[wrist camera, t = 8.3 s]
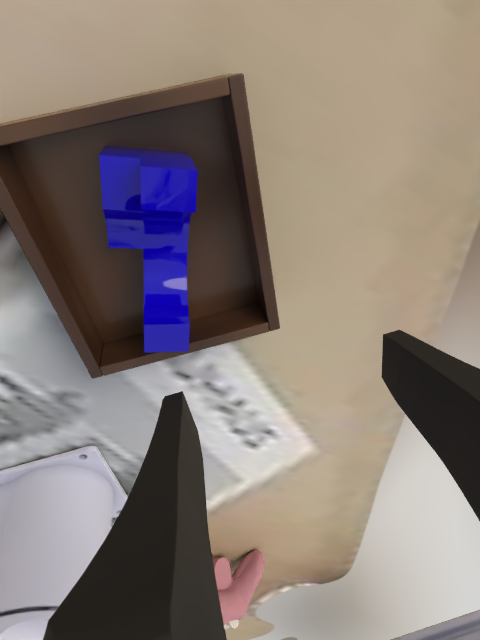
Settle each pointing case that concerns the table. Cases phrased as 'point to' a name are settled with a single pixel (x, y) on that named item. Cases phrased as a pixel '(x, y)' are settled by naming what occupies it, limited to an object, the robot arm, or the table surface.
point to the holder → (126, 263)
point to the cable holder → (153, 232)
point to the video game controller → (237, 585)
